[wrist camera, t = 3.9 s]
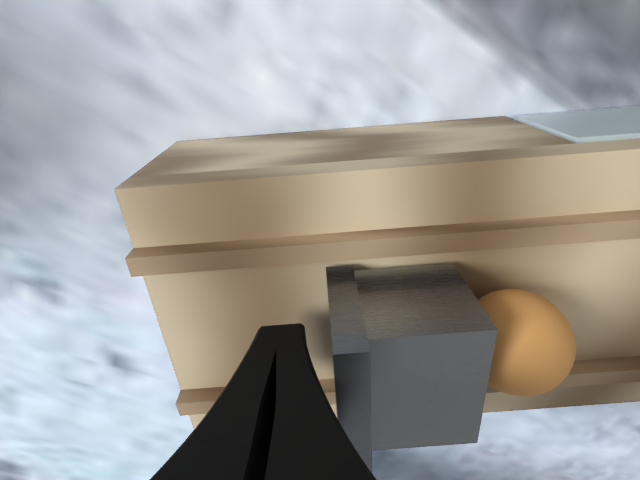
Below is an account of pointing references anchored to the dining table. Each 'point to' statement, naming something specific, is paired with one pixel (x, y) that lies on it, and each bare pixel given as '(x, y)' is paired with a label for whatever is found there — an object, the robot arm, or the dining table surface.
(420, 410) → the brushed steel stepped cube
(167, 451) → the dining table surface
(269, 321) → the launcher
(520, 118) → the open box
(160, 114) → the dining table surface
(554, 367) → the ball
